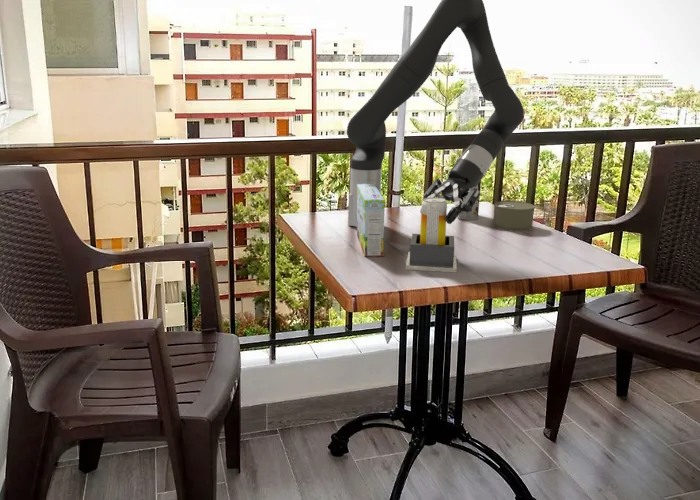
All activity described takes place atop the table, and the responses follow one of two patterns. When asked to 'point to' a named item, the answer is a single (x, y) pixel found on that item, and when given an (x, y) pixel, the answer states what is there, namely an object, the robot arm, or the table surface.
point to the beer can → (433, 221)
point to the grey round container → (513, 215)
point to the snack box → (370, 220)
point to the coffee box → (474, 210)
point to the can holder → (431, 255)
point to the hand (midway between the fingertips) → (434, 218)
